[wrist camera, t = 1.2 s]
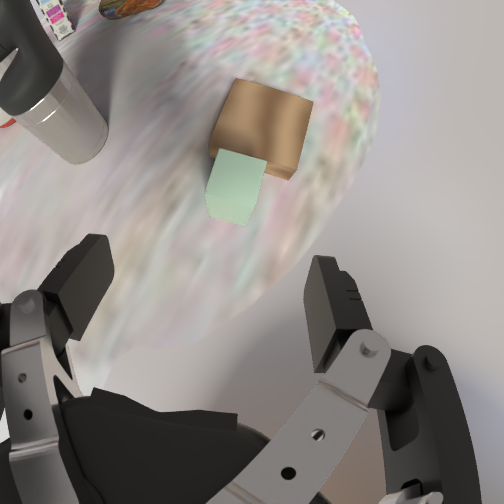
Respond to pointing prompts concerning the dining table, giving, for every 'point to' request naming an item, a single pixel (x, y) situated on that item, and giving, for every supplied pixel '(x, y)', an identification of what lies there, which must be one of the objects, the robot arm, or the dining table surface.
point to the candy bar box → (57, 17)
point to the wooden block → (263, 126)
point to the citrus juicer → (3, 119)
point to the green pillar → (234, 186)
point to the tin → (125, 7)
